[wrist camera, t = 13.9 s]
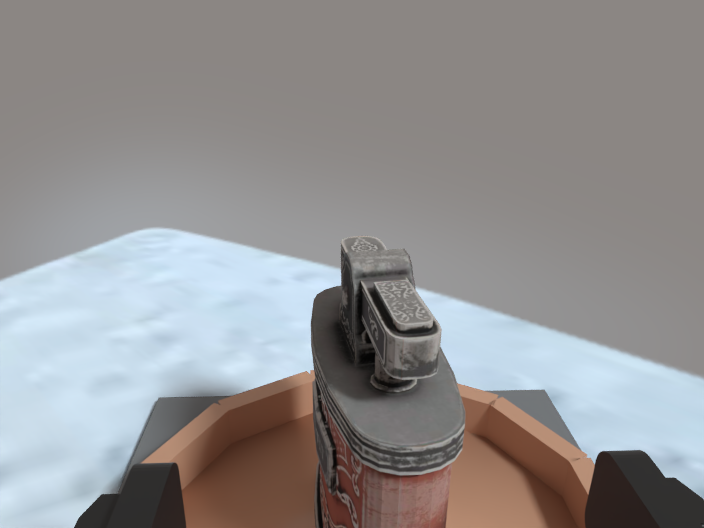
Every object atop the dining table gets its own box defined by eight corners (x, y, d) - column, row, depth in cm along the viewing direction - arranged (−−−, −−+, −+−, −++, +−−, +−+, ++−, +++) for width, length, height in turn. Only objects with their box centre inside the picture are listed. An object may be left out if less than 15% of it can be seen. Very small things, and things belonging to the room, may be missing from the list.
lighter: (302, 468, 22) (295, 214, 18) (390, 456, 22) (401, 208, 19) (340, 693, 14) (342, 347, 11) (468, 667, 15) (514, 331, 11)
